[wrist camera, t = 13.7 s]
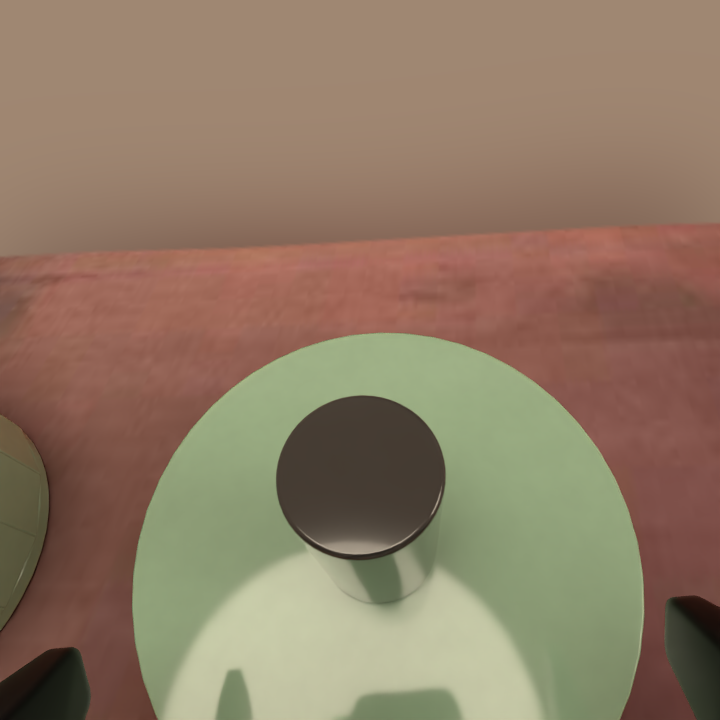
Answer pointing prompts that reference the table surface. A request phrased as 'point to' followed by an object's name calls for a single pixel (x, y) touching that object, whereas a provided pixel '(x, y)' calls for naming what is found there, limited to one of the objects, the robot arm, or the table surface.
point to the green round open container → (19, 514)
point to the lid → (387, 548)
